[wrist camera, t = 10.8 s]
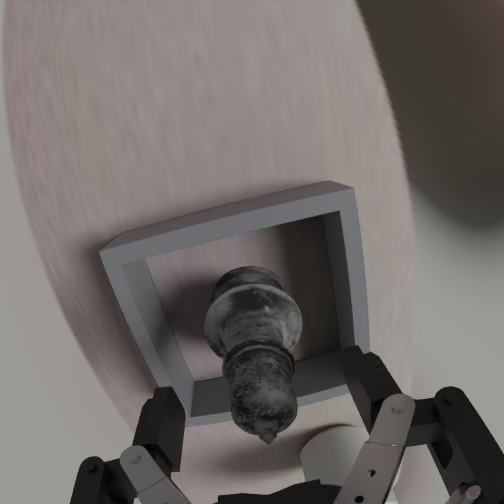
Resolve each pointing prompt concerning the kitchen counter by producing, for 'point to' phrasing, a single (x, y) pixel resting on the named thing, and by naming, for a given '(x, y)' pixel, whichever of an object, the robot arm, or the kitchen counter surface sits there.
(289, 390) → the chess piece
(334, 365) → the bin
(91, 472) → the robot arm
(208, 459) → the kitchen counter surface
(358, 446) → the can
